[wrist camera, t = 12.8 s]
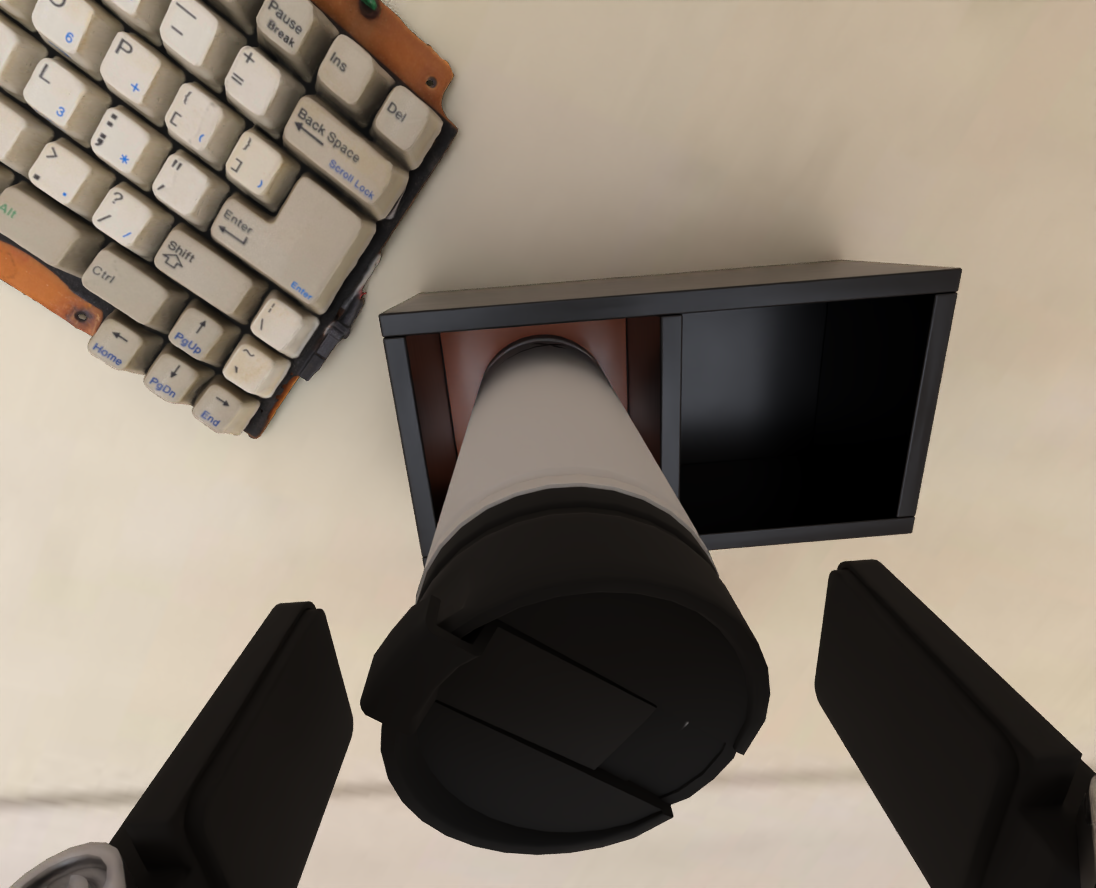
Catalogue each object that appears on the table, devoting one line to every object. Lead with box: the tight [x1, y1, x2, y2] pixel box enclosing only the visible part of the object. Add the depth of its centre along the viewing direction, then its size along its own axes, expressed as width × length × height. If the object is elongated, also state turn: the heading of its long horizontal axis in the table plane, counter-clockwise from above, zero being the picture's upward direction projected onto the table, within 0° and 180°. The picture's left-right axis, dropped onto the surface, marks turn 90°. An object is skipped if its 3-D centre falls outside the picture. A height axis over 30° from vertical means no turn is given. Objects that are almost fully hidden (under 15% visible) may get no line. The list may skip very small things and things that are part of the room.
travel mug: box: [360, 334, 770, 855], centre depth 17 cm, size 6×7×20 cm
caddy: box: [379, 260, 962, 568], centre depth 24 cm, size 10×20×8 cm, turn 94°
